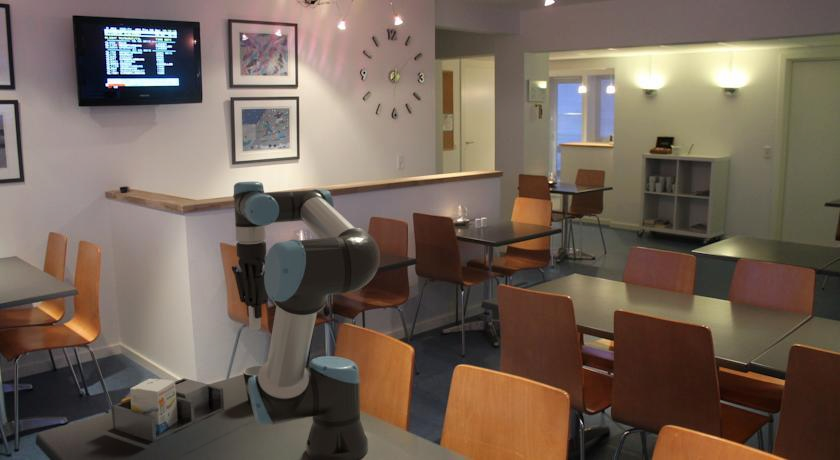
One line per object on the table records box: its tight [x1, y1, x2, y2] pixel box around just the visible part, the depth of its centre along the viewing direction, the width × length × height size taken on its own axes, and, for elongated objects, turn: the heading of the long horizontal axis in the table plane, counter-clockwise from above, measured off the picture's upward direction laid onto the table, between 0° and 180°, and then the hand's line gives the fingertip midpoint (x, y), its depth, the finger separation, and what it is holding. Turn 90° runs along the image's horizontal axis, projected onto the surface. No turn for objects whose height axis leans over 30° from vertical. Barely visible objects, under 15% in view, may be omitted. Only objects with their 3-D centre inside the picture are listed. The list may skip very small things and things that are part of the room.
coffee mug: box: [242, 364, 263, 405], centre depth 210 cm, size 12×9×10 cm
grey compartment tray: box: [111, 377, 225, 443], centre depth 200 cm, size 16×24×8 cm
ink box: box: [129, 378, 178, 434], centre depth 195 cm, size 9×8×12 cm
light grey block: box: [175, 379, 209, 415], centre depth 205 cm, size 8×8×7 cm
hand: (255, 329), depth 194 cm, fingers closed
